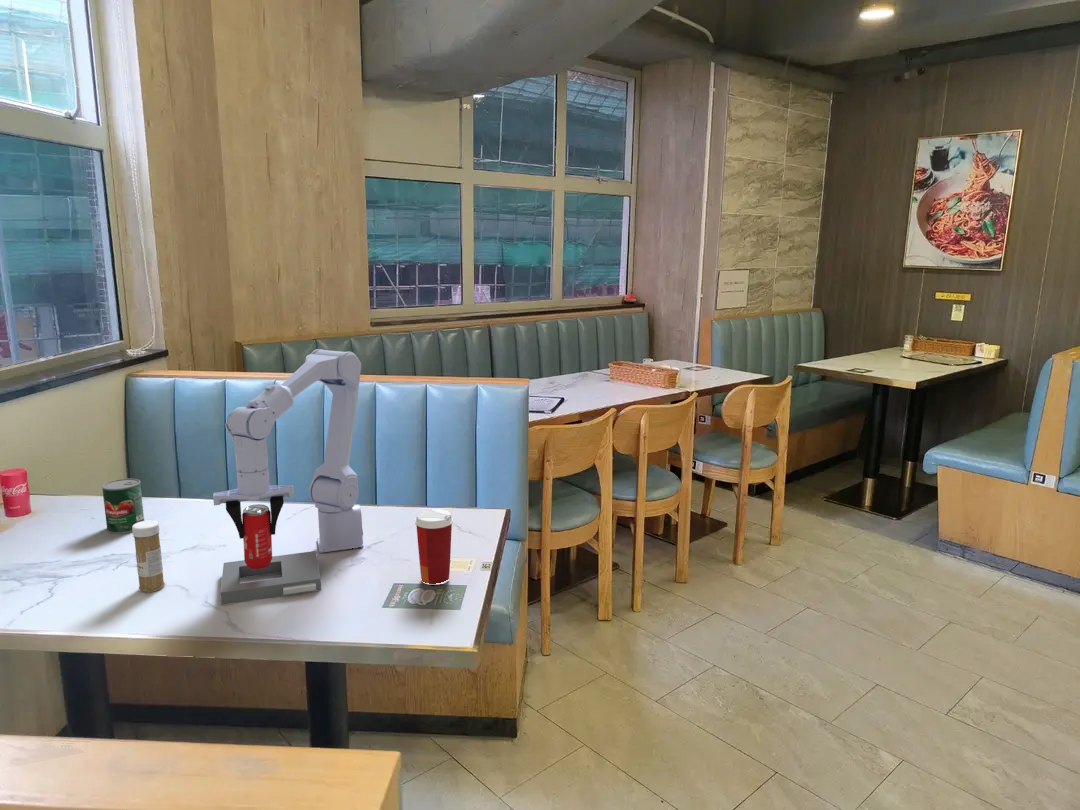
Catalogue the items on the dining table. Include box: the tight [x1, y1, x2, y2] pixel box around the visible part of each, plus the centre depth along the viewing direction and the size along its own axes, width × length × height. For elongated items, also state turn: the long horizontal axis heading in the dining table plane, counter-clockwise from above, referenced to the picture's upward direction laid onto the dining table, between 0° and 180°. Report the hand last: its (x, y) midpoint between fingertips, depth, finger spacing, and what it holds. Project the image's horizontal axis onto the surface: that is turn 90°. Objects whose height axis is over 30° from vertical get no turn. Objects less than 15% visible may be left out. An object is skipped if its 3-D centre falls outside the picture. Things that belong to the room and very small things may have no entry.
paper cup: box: [413, 508, 454, 584], centre depth 145 cm, size 8×8×14 cm
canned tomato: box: [101, 478, 145, 535], centre depth 171 cm, size 8×8×11 cm
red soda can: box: [241, 503, 273, 570], centre depth 143 cm, size 5×5×12 cm
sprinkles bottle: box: [131, 519, 166, 593], centre depth 140 cm, size 5×5×14 cm
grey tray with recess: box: [219, 550, 322, 606], centre depth 144 cm, size 18×15×2 cm
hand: (257, 534), depth 142 cm, fingers closed on red soda can, 5 cm apart
